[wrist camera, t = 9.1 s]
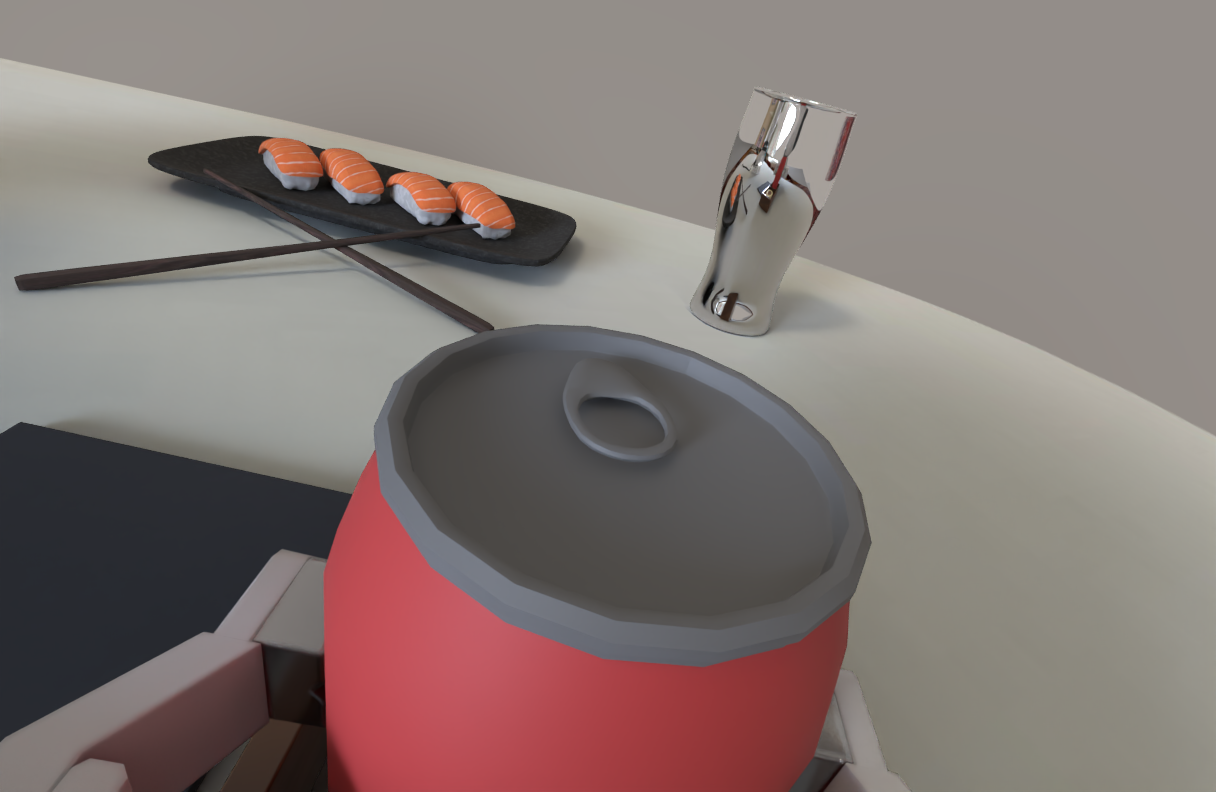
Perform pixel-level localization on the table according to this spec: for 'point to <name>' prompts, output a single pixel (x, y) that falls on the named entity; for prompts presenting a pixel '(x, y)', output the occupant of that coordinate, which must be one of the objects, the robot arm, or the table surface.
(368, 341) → the table surface
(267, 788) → the tray
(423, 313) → the table surface
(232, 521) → the mat
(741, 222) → the beer glass
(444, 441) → the beer can
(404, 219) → the sushi plate
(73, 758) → the robot arm
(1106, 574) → the table surface
